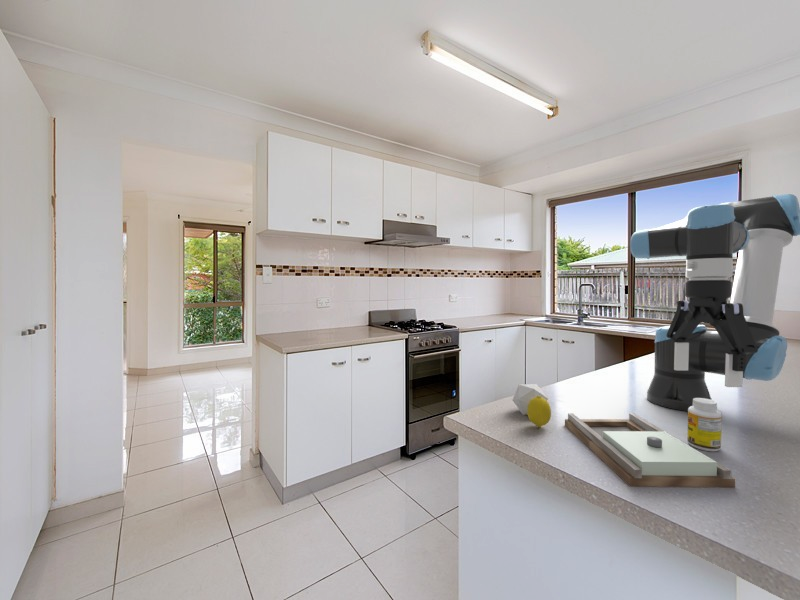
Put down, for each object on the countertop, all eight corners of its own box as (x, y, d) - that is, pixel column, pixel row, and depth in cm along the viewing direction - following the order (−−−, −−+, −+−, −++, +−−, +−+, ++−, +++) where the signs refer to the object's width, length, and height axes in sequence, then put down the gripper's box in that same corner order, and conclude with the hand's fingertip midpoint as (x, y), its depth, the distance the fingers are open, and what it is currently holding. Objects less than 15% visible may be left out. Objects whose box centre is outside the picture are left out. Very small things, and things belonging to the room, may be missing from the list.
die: (543, 423, 92) (557, 391, 95) (513, 406, 93) (527, 374, 96) (531, 423, 100) (545, 392, 102) (504, 406, 101) (518, 377, 104)
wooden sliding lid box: (637, 425, 88) (637, 413, 88) (735, 487, 62) (735, 470, 61) (564, 424, 89) (564, 413, 89) (629, 486, 62) (630, 469, 62)
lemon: (533, 421, 92) (533, 391, 92) (554, 427, 88) (554, 395, 88) (523, 427, 88) (523, 396, 88) (545, 434, 84) (545, 401, 84)
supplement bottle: (687, 438, 81) (688, 394, 80) (720, 445, 77) (721, 399, 77) (686, 447, 76) (687, 401, 76) (721, 455, 73) (722, 406, 72)
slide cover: (664, 442, 75) (664, 425, 75) (716, 475, 62) (717, 455, 62) (602, 442, 76) (602, 425, 76) (641, 475, 63) (642, 455, 63)
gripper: (650, 280, 88) (648, 364, 88) (744, 278, 63) (740, 395, 64) (681, 280, 87) (679, 364, 88) (788, 278, 62) (783, 395, 63)
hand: (704, 377), depth 76 cm, fingers open, 13 cm apart
